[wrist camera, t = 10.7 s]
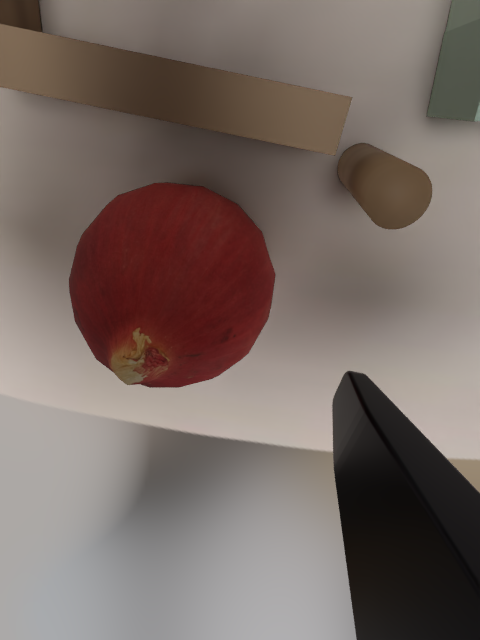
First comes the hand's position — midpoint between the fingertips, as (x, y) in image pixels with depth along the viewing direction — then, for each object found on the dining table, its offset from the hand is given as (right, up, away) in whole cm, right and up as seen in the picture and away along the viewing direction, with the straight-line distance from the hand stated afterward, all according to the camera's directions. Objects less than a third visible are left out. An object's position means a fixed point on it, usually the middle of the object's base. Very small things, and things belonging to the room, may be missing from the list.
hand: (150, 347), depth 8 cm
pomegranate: (+1, +4, +6) cm, 7 cm away
